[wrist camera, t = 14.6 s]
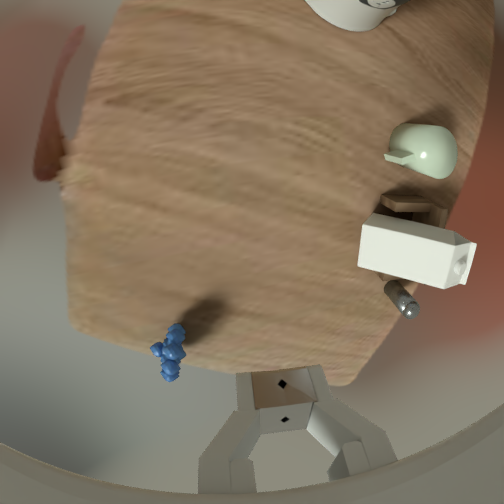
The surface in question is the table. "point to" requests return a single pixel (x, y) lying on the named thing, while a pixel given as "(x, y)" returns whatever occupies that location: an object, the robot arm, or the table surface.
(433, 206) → the walnut holder
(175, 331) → the grapes
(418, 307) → the grey shaker
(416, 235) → the milk carton
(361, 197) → the table surface
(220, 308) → the table surface
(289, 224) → the table surface
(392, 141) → the sage mug
